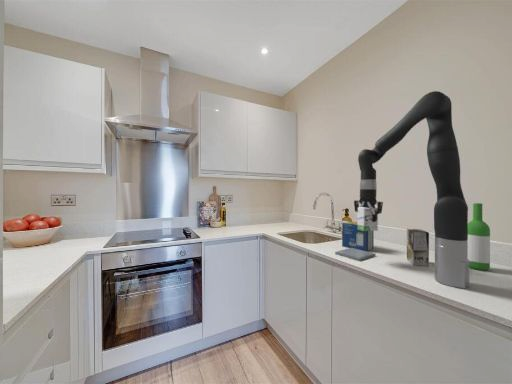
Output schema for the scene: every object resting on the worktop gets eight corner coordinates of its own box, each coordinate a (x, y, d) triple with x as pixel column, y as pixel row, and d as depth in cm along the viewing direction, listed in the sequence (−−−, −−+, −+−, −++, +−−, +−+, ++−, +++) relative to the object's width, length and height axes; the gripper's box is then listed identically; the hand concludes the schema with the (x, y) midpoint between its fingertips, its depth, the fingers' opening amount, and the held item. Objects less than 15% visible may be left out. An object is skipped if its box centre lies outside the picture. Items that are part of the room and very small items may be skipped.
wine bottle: (488, 272, 89) (488, 204, 89) (463, 267, 96) (463, 203, 96) (491, 269, 94) (492, 203, 94) (467, 263, 100) (468, 202, 100)
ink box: (363, 231, 102) (364, 207, 102) (356, 229, 107) (357, 206, 107) (378, 230, 104) (378, 207, 104) (370, 228, 109) (371, 206, 109)
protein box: (349, 243, 139) (349, 220, 139) (373, 248, 127) (374, 223, 127) (341, 246, 132) (341, 222, 132) (366, 251, 120) (366, 225, 120)
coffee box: (429, 266, 96) (429, 232, 96) (413, 265, 98) (413, 231, 98) (421, 260, 105) (421, 229, 105) (406, 259, 107) (406, 228, 107)
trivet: (375, 255, 112) (375, 253, 112) (359, 261, 104) (359, 258, 104) (351, 249, 124) (351, 247, 124) (335, 254, 115) (335, 251, 115)
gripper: (386, 188, 102) (385, 222, 102) (358, 188, 114) (357, 218, 114) (379, 188, 98) (378, 223, 98) (350, 188, 109) (350, 219, 110)
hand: (367, 220), depth 106 cm, fingers closed on ink box, 6 cm apart
